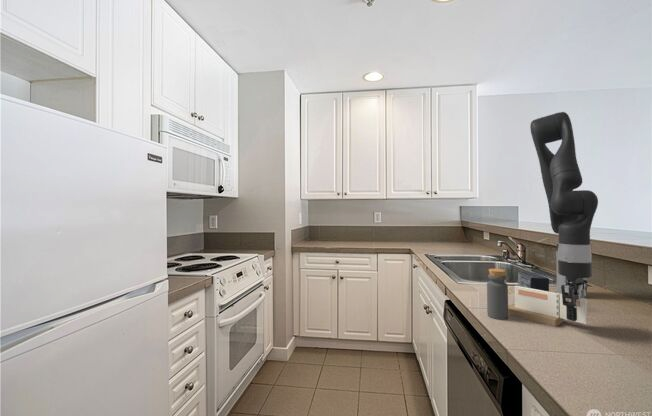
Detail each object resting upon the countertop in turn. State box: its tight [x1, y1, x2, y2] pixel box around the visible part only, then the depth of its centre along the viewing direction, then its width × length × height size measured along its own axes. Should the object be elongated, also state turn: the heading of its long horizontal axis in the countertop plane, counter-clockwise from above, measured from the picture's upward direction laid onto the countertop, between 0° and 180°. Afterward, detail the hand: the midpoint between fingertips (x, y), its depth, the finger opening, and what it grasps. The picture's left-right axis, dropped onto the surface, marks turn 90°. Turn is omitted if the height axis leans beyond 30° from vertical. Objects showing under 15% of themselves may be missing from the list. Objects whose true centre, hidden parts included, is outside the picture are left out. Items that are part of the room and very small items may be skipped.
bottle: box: [486, 268, 509, 321], centre depth 96 cm, size 6×6×15 cm
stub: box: [560, 294, 588, 325], centre depth 87 cm, size 6×1×7 cm, turn 35°
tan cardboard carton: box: [508, 285, 565, 327], centre depth 95 cm, size 14×7×9 cm, turn 35°
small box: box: [517, 271, 550, 292], centre depth 110 cm, size 11×6×10 cm, turn 168°
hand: (575, 317), depth 86 cm, fingers open, 5 cm apart
